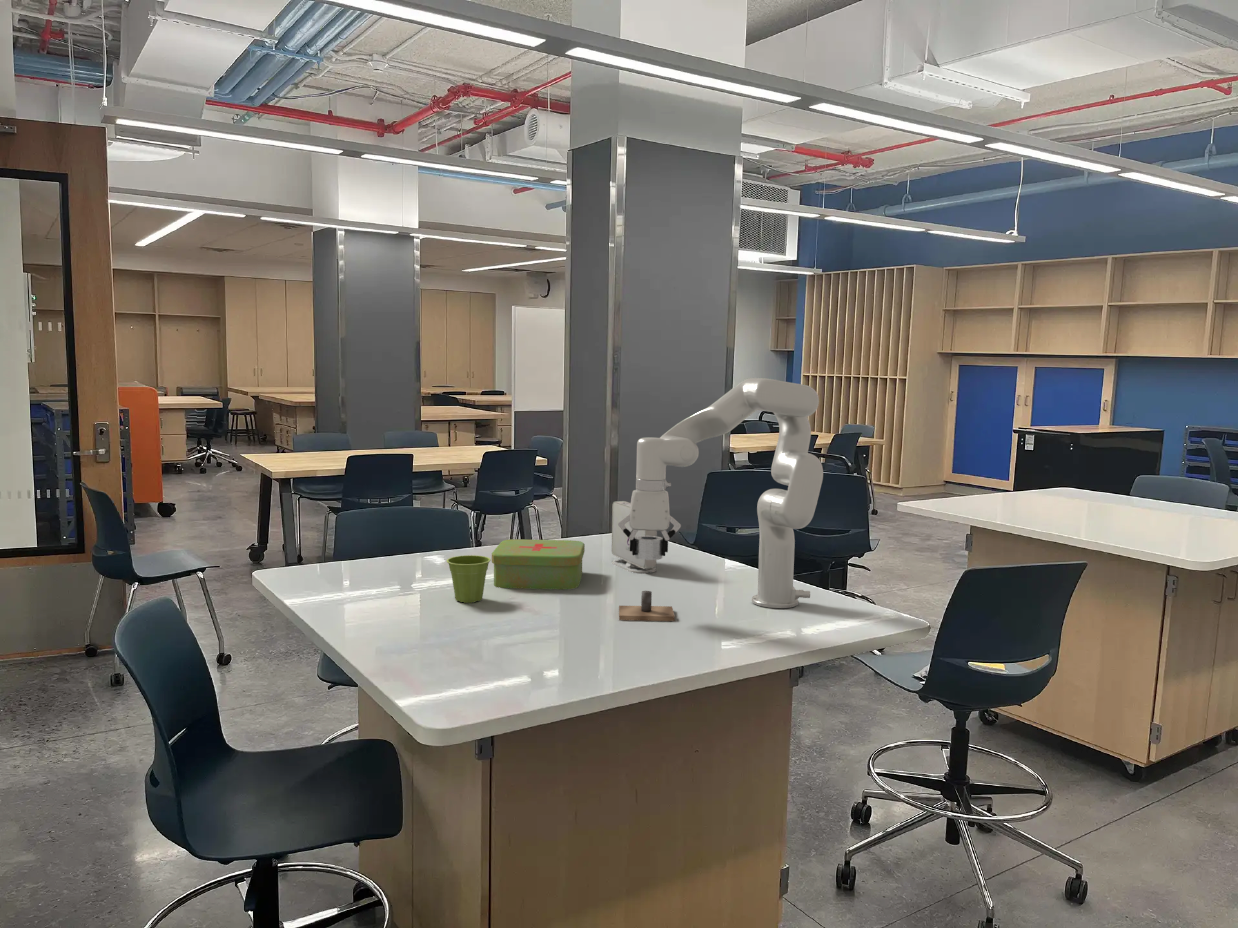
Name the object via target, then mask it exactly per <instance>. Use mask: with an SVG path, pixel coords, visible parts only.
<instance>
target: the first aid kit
mask: <svg viewBox="0 0 1238 928" xmlns="http://www.w3.org/2000/svg"><path fill="white" fill-rule="evenodd" d="M585 551H586V550H585V543H584V542H583V541H580V540H569V539H565V540H563V539H519V538H517V539H515V538H514V539H511V538H510V539H504V540H502V541H500V542H499V544H498V545H497V546H496V548H495V549H494V550H493V551H492V552H491V563H492V564H493V586H494V587H496V588H499V587H500V588H501V589H527V590H528V589H531V590H532V589H533V590H535V589H537V590H574V589H578V587H579V586H580V583H581V579H582V576H583V558H584V555H585Z"/></svg>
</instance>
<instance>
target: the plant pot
mask: <svg viewBox="0 0 1238 928" xmlns="http://www.w3.org/2000/svg"><path fill="white" fill-rule="evenodd" d="M490 562H492V558H490V557H488V556H484V555H475V554H474V555H472V554H471V555H470V554H467V555H457V556H456V555H455V556H452V557H449V558H447V559H446V563H447V564H448V566H449V567H448V568H449V571H450V576H451V580H452V585H453V592H454V597H455V598H454V599H455V601H456V602H460V603H462V602H464V603H463V604H466V603H467V604H468V603H469V604H472V602H473V603H475V602H477V601H478V602H481V601H483V597H484V590H485V583H486V577H487V571H488V567H489V563H490Z"/></svg>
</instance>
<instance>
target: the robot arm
mask: <svg viewBox="0 0 1238 928" xmlns="http://www.w3.org/2000/svg"><path fill="white" fill-rule="evenodd" d="M819 404H820V397H819V395H818V393H817V391H816V389H814V388H813V387H812V386H810V385H806V384H801V383H795V382H789V381H783V380H779V379H773V378H767V377H766V378H765V377H763V378H761V377H750V378H746V379H743V380H742V381H740V382H739V383H738V384H736V385H735V386H734V387H732V388H731V389H729V391H727V392H726V393H725V394H723V395H722V396H721V397H720V398H718V399H717V400H716V401H714V402H713V403H712V404H710V405H709V406H707V407H706V408H703V409H702V410H700V411H698V412H696V413H694V414H692V415H690V416H688V417H686V418H685V419H683V420H681V421H680V422H678V423H676V424H675V425H674V426H672V427H671V428H670V429H669V430H667V431H666V432H665V433H663V434H662V435H661V436H660V437H651V436H650V437H641V438H638V440H637V442H636V473H635V475H636V476H635V477H636V478H635V489H634V490H632V493H631V497H630V498H631V499H630V503H631V505H630V514H629V515H628V516H626V517H625V518H624V519H623V520H621V521H620V522H619V523H618V526H619V527H620V528H621V530H622V531H623V532H624V533H625V534H626V536H627V537H628V538H629V539H630V551H632V555H635V547H636V540H635V535H636V533H637V532H638V530H648V531H657V532H661V535H662V538H663V549H662V557H666V553H668V551H669V541H670V539H671V538H672V537H674V535H675V534H676V533H677V532H678V531H679V530H680V529H681V527H682V524H681V523H679V521H677V520H676V519H675V518H674V517H673V516H671V515H670V499H669V492H668V491H667V490H666V489H667V488H671V487H672V482H671V481H667V479H666V478H667V477H666V476H667V474H666V472H667V466H673V467H677V468H678V467H679V468H686V467H689V466H691V465H693V464H695V462H696V461H697V459H698V458H699V455H700V454H699V453H700V452H699V450H700V449H699V447H698V445H697V444H698V443H700V442H703V441H704V440H708V439H712V438H716V437H720V436H723V435H725V434H728V433H729V432H731V431H732V430H734V429H735V428H736V427H738V425H740V424H741V423H742V422H743V421H745V420H746V419H748V418H749V417H750V416H751V415H752V414H754V413H755V412H757V411H761V412H770V413H773V414H774V417H775V418H776V420H777V423H778V428H779V430H778V431H779V432H778V439H777V443H776V448H775V451H774V456H773V459H772V464H771V468H770V472H771V477H772V479H773V480H774V481H775V482H776V483H778V484H781V485H784V486H788V487H787V489H782V488H770V489H767V490H765V491H764V492H763V493H762V494H761V495H760V496H759V498H758V501H757V504H756V505H757V507H756V513H757V518H758V519H757V521H758V527H759V530H758V531H759V543H758V546H759V547H758V570H757V573H758V574H757V594H755V595H753V596H752V597H751V603H753V604H754V605H755V606H759V607H763V608H770V609H790V608H794V607H797V606H798V605H799V598H803V599H810V598H811V591H810V590H804V589H796V588H795V587H794V573H795V572H794V570H795V569H794V568H795V567H794V566H795V565H794V564H795V548H796V547H795V544H796V543H795V542H796V540H795V532H794V530H799V529H804V528H806V527H807V526H808V525H809V524H810V523H811V521H812V520H813V518H814V515H815V511H816V508H817V504H818V500H819V496H820V492H821V488H822V484H823V480H824V468H823V464H822V462H821V460H820V459H819V458H818V457H817V456H816V455H814V454H812V453H809V447H810V443H811V437H812V430H811V424H810V420H809V418H808V417H810V416H812V415H814V414H815V412H816V411H817V410H818V407H819ZM629 521H630V527H631V528H632V531H631V532H630V531H629V530H628V529H627V528H626V527H625V524H626V523H627V522H629ZM670 523H671V524H672V525H673V527H672V529H670V530H669V528H670ZM668 530H669V531H668Z"/></svg>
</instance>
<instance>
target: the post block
mask: <svg viewBox="0 0 1238 928" xmlns="http://www.w3.org/2000/svg"><path fill="white" fill-rule="evenodd" d="M652 592H653V591H651V590H642V591H641V602H640V603H641V605H619V606H618V621H644V622H645V621H646V622H647V621H648V622H649V621H650V622H657V621H658V622H675V617H676V616H675V613H674V608H673V606H671V605H670V606H667V605H666V606H665V605H664V606H663V605H662V606H661V605H660V606H658V605H652V601H653V600H652V597H653V595H652V594H653V593H652Z"/></svg>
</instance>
